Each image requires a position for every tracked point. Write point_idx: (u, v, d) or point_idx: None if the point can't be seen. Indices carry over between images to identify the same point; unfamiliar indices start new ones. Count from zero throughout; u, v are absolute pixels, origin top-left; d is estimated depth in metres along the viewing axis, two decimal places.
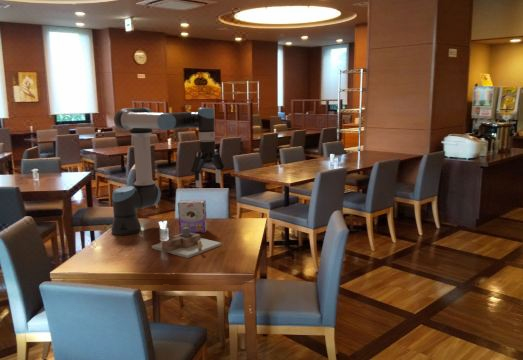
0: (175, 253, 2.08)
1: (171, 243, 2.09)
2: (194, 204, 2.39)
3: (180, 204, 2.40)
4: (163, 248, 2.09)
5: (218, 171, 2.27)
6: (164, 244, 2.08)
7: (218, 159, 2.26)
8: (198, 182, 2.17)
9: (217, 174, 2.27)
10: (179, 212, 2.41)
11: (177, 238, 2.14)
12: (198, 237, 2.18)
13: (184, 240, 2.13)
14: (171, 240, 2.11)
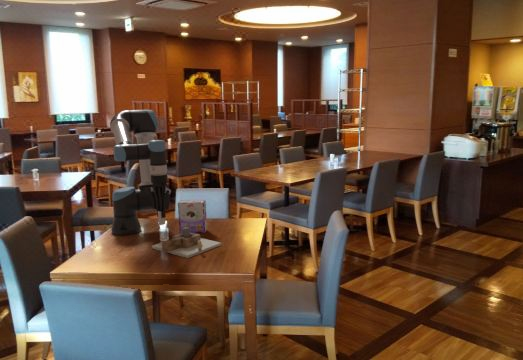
0: (175, 253, 2.08)
1: (171, 243, 2.09)
2: (194, 204, 2.39)
3: (180, 204, 2.40)
4: (163, 248, 2.09)
5: None
6: (164, 244, 2.08)
7: None
8: None
9: None
10: (179, 212, 2.41)
11: (177, 238, 2.14)
12: (198, 237, 2.18)
13: (184, 240, 2.13)
14: (171, 240, 2.11)
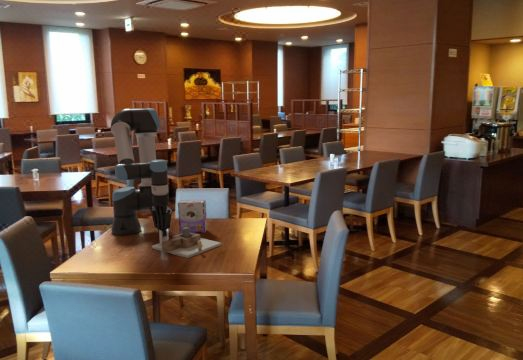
0: (175, 253, 2.08)
1: (171, 243, 2.09)
2: (194, 204, 2.39)
3: (180, 204, 2.40)
4: (163, 248, 2.09)
5: None
6: (164, 244, 2.08)
7: None
8: None
9: None
10: (179, 212, 2.41)
11: (177, 238, 2.14)
12: (198, 237, 2.18)
13: (184, 240, 2.13)
14: (171, 240, 2.11)
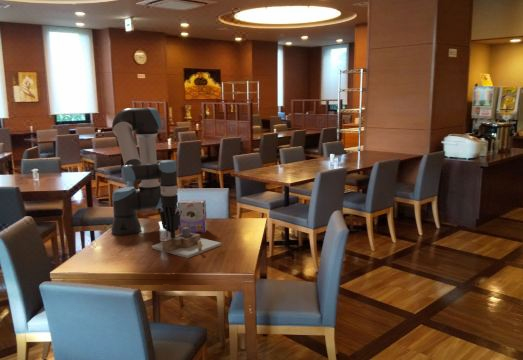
0: (175, 253, 2.08)
1: (172, 243, 2.09)
2: (194, 204, 2.39)
3: (180, 204, 2.40)
4: (163, 248, 2.08)
5: None
6: (165, 244, 2.07)
7: None
8: None
9: None
10: None
11: (177, 238, 2.14)
12: (198, 237, 2.19)
13: (184, 240, 2.13)
14: (171, 240, 2.11)
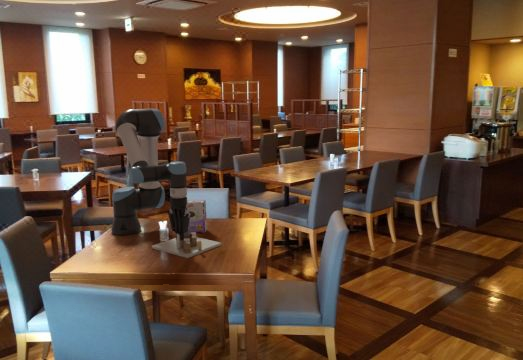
0: (175, 253, 2.08)
1: (190, 243, 2.09)
2: (194, 204, 2.39)
3: None
4: (185, 250, 2.05)
5: None
6: (187, 245, 2.05)
7: None
8: None
9: None
10: None
11: (186, 238, 2.13)
12: (195, 234, 2.23)
13: (194, 239, 2.15)
14: (186, 241, 2.09)
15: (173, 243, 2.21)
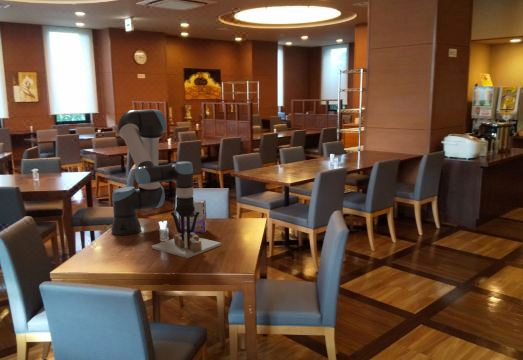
0: (175, 253, 2.08)
1: None
2: (194, 204, 2.39)
3: None
4: (194, 249, 2.07)
5: None
6: (196, 244, 2.07)
7: (193, 221, 2.09)
8: None
9: None
10: None
11: (190, 238, 2.13)
12: None
13: (196, 238, 2.16)
14: (193, 240, 2.10)
15: (173, 243, 2.21)
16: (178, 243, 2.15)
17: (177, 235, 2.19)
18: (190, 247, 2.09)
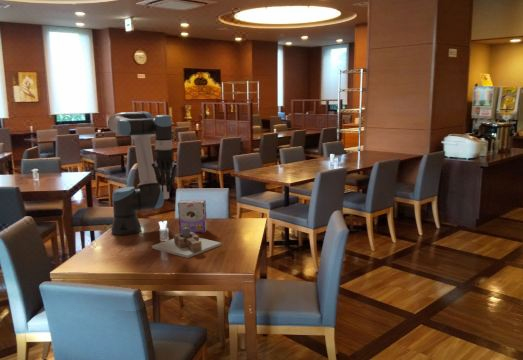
0: (175, 253, 2.08)
1: None
2: (194, 204, 2.39)
3: (180, 204, 2.40)
4: (194, 249, 2.07)
5: None
6: (196, 244, 2.07)
7: None
8: None
9: None
10: (179, 212, 2.41)
11: (190, 238, 2.13)
12: None
13: (196, 238, 2.16)
14: (193, 240, 2.10)
15: (173, 243, 2.21)
16: (178, 243, 2.15)
17: (177, 235, 2.19)
18: (190, 247, 2.09)
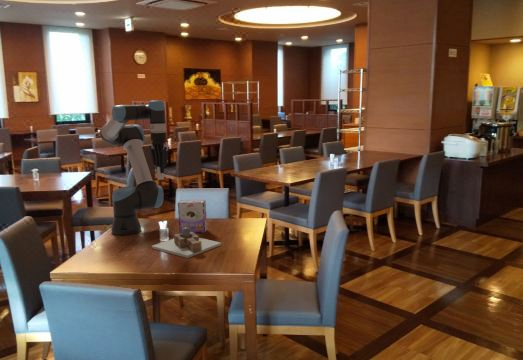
0: (175, 253, 2.08)
1: None
2: (194, 204, 2.39)
3: (180, 204, 2.40)
4: (194, 249, 2.07)
5: None
6: (196, 244, 2.07)
7: None
8: None
9: None
10: (179, 212, 2.41)
11: (190, 238, 2.13)
12: None
13: (196, 238, 2.16)
14: (193, 240, 2.10)
15: (173, 243, 2.21)
16: (178, 243, 2.15)
17: (177, 235, 2.19)
18: (190, 247, 2.09)
